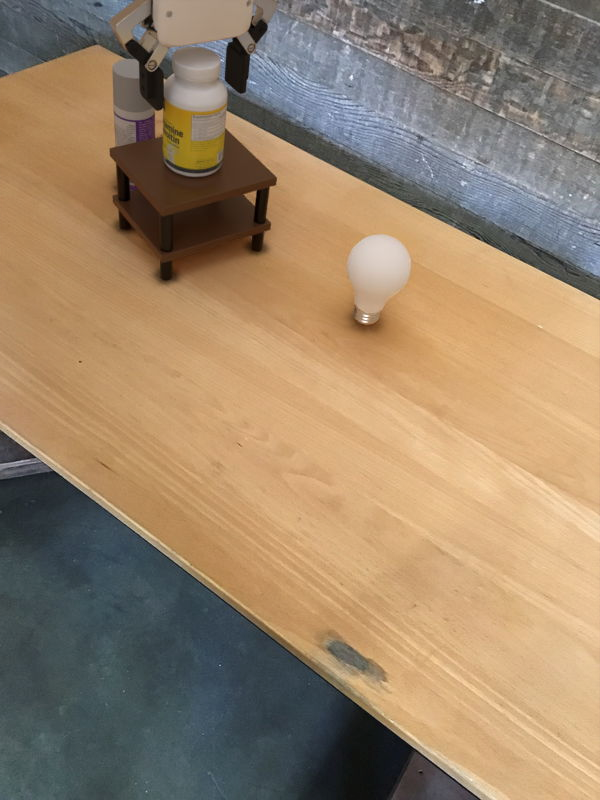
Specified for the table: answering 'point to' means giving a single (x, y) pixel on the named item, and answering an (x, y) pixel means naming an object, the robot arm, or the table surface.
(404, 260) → the light bulb
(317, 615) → the table surface
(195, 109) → the pill bottle
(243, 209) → the stand
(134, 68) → the container
